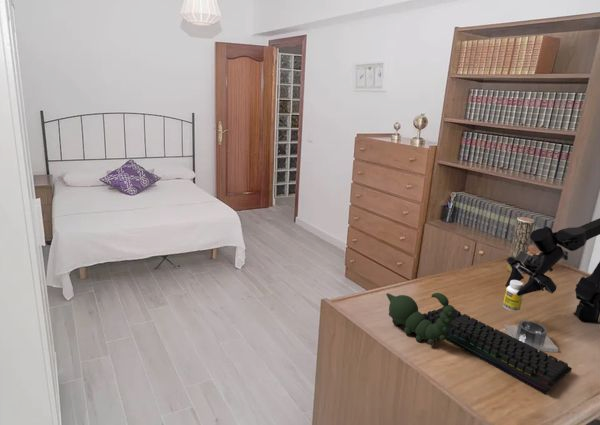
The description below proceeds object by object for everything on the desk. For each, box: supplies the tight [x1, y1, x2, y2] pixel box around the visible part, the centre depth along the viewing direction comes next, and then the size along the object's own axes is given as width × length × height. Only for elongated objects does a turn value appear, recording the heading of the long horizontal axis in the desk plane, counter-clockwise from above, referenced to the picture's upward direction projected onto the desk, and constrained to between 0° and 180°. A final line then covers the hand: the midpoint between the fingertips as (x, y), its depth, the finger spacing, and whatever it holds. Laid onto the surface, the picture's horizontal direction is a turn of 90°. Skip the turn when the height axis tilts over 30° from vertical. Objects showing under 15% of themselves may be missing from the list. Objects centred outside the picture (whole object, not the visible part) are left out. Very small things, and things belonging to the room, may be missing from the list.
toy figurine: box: [386, 292, 458, 346], centre depth 139 cm, size 9×19×25 cm
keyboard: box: [422, 305, 573, 395], centre depth 135 cm, size 42×16×5 cm, turn 39°
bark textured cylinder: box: [506, 216, 535, 273], centre depth 192 cm, size 7×7×25 cm
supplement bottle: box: [502, 280, 524, 312], centre depth 147 cm, size 5×5×10 cm
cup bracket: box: [504, 320, 559, 353], centre depth 141 cm, size 12×12×5 cm
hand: (511, 290), depth 146 cm, fingers closed on supplement bottle, 5 cm apart
